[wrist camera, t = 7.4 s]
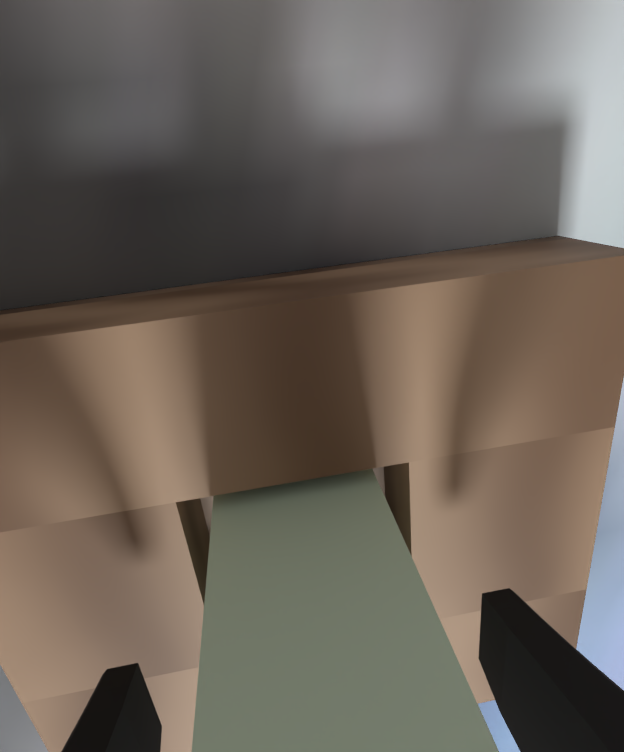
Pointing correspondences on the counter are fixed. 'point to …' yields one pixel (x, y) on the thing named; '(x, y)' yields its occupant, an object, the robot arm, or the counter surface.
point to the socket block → (299, 448)
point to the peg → (324, 630)
